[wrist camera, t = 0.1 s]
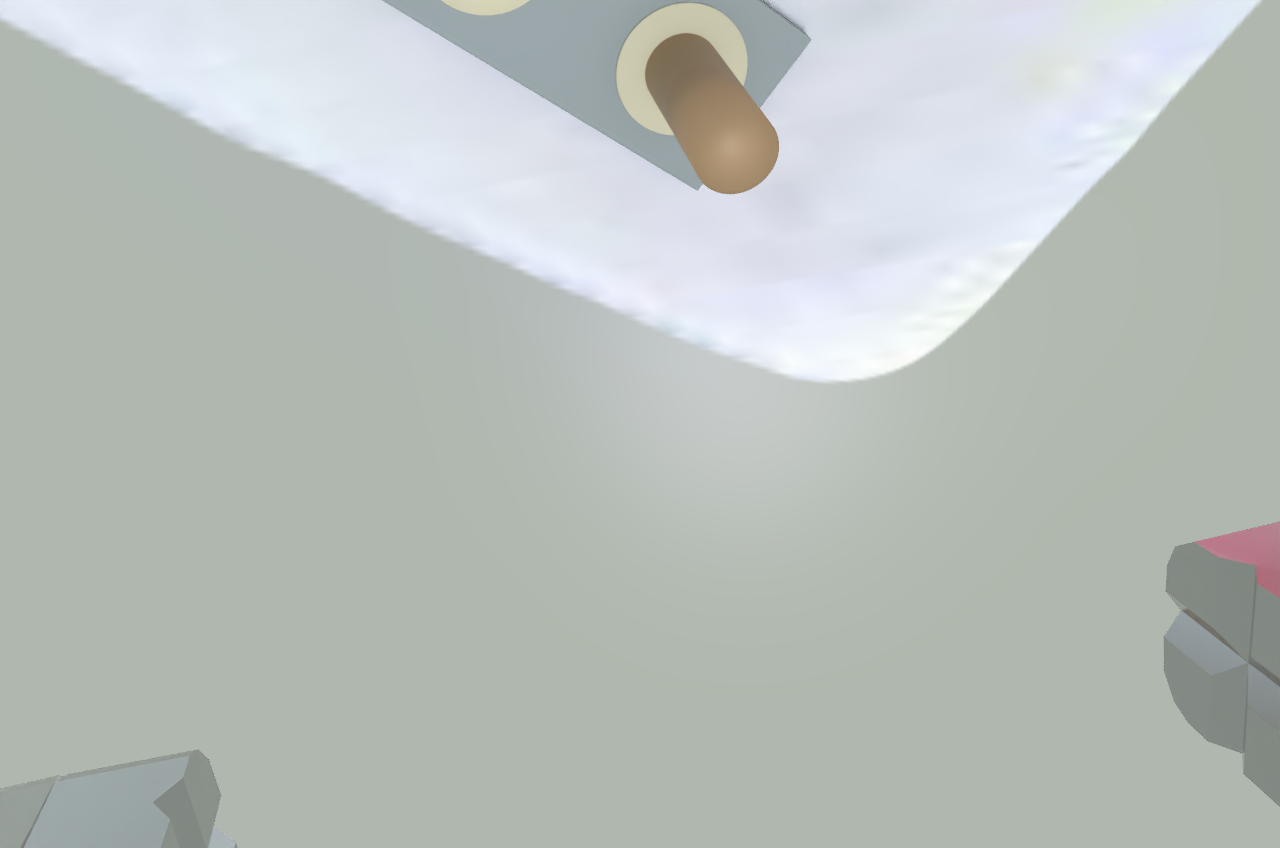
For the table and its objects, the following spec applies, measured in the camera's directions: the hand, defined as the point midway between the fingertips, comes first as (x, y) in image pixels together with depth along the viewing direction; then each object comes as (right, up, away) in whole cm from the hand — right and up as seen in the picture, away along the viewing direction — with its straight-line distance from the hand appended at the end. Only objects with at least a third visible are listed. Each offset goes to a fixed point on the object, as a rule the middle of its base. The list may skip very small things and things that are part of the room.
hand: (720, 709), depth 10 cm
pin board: (-3, +24, +48) cm, 54 cm away
